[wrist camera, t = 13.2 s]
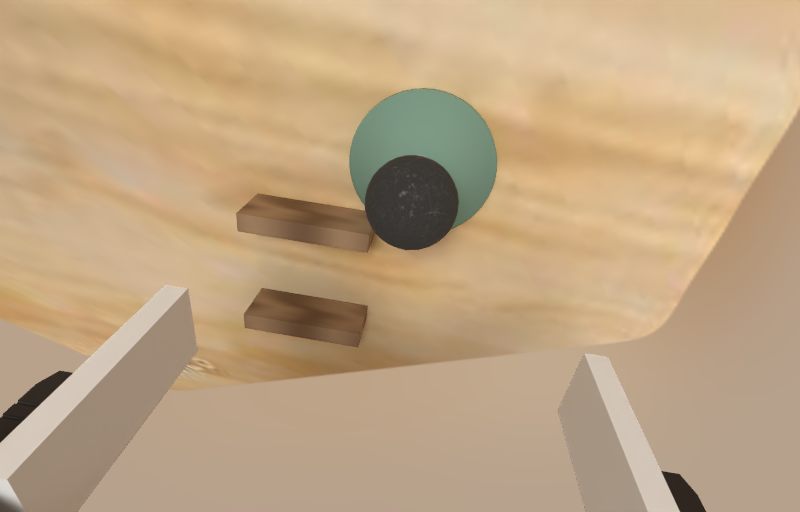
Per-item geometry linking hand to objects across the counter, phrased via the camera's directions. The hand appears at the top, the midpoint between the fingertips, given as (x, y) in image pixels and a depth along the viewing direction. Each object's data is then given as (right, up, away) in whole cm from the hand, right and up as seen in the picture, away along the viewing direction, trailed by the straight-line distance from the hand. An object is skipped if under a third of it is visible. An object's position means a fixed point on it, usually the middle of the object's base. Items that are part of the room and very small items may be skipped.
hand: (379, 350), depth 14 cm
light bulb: (+2, +10, +18) cm, 20 cm away
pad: (+2, +10, +18) cm, 21 cm away
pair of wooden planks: (-7, +3, +23) cm, 24 cm away
